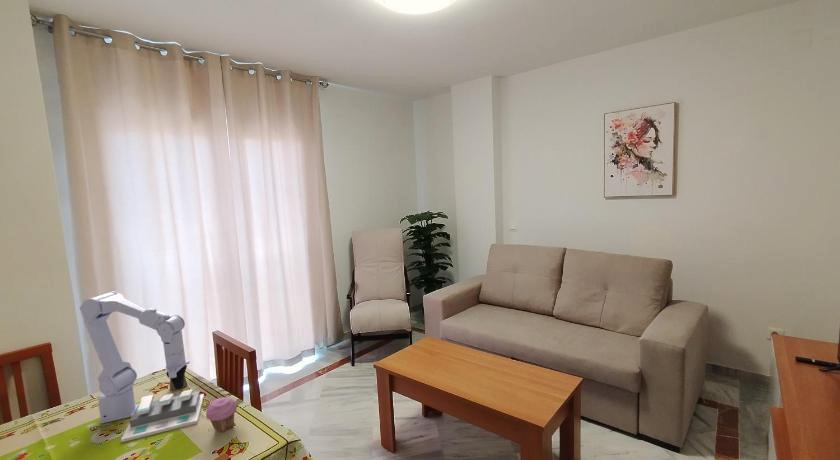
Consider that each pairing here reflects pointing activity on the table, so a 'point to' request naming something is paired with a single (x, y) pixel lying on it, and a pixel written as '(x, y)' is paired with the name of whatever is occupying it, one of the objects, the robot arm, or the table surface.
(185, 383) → the cork
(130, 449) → the table surface
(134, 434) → the switch board
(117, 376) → the robot arm
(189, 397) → the right switch
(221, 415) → the cupcake
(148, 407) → the left switch
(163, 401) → the middle switch
